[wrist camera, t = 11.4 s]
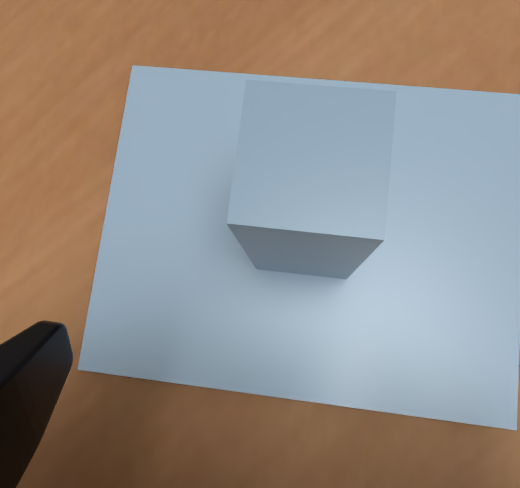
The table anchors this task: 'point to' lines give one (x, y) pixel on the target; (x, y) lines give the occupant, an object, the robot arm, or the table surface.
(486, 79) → the table surface
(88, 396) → the table surface
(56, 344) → the robot arm
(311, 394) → the tub lid
